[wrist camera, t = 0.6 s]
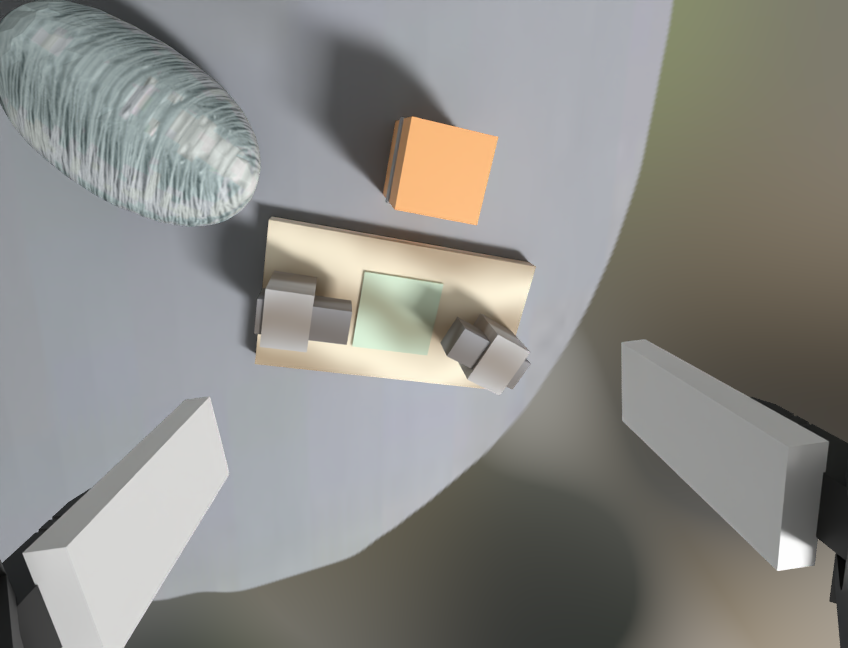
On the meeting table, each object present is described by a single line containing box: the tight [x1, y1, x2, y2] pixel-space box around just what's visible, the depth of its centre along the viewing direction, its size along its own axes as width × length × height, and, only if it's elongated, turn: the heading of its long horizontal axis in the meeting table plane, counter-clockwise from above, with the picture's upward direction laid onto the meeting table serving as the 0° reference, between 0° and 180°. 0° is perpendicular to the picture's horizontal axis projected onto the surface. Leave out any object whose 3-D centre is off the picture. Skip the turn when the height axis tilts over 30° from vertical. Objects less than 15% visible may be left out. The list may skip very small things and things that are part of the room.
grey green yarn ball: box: [0, 0, 261, 226], centre depth 27 cm, size 14×10×10 cm
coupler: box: [383, 116, 498, 225], centre depth 30 cm, size 5×5×8 cm
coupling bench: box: [254, 217, 536, 396], centre depth 35 cm, size 11×20×6 cm, turn 78°
